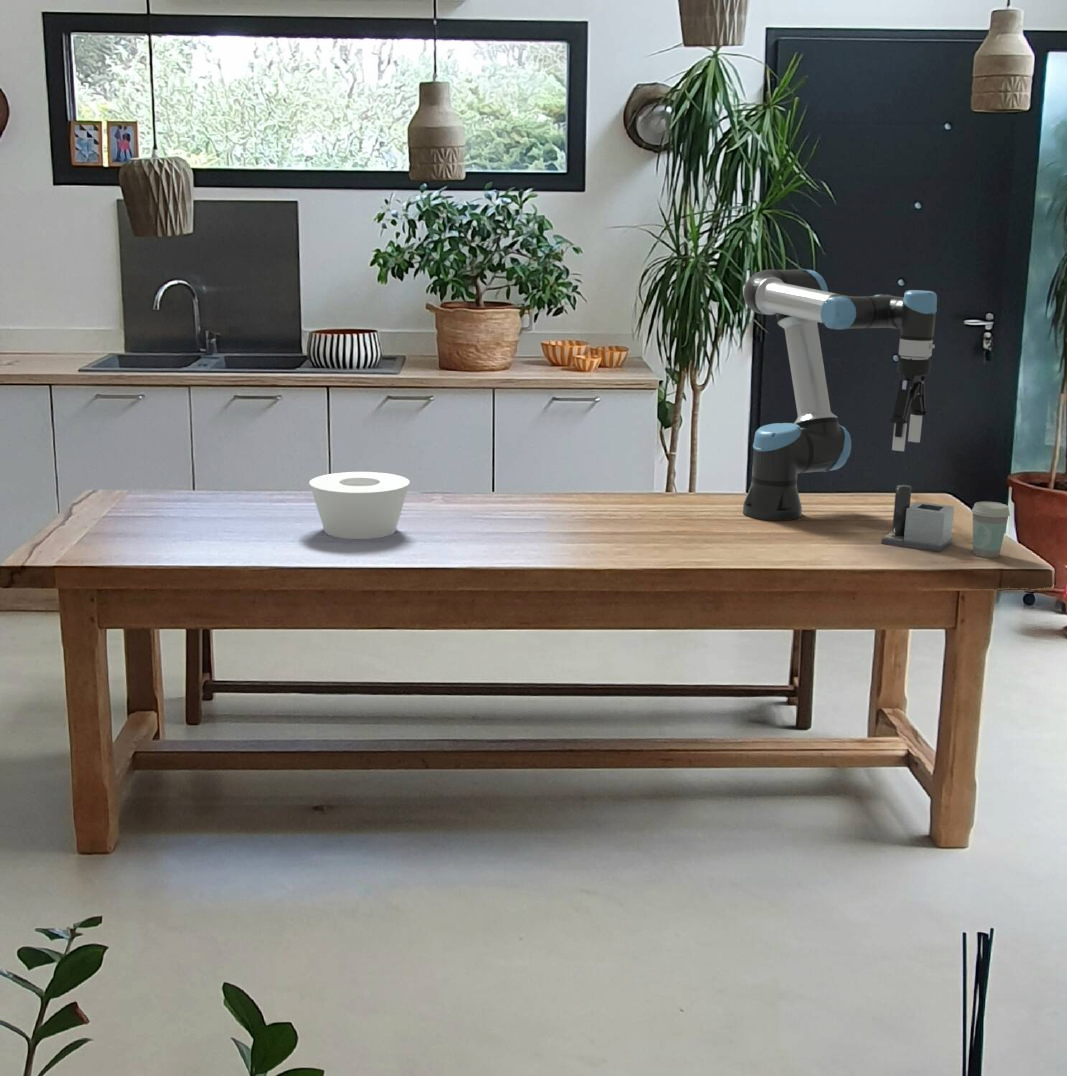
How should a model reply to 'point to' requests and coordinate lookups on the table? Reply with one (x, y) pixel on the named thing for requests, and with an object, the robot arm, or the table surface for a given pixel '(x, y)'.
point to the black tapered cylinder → (901, 509)
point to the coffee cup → (989, 528)
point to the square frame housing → (925, 527)
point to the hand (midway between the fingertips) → (906, 446)
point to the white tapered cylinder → (359, 503)
